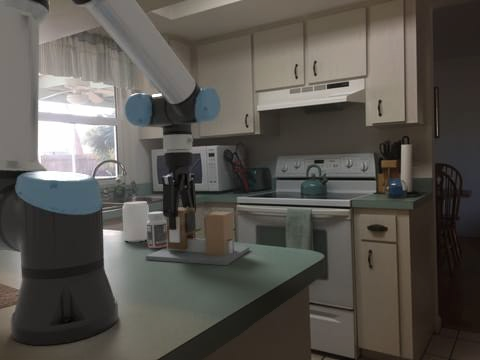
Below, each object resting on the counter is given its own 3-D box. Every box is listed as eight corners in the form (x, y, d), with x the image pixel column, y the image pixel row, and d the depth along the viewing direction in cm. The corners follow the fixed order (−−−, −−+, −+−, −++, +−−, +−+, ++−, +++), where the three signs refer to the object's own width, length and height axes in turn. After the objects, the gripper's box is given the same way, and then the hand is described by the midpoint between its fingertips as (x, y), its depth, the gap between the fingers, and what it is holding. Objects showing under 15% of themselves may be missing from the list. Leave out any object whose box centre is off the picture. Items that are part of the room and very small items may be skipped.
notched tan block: (186, 249, 106) (185, 210, 106) (167, 248, 108) (166, 210, 108) (197, 244, 112) (196, 207, 111) (179, 243, 114) (177, 207, 113)
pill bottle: (169, 244, 123) (168, 211, 123) (164, 248, 118) (163, 213, 117) (151, 244, 124) (149, 211, 124) (144, 248, 118) (143, 214, 118)
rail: (226, 265, 97) (224, 218, 96) (145, 259, 105) (143, 216, 104) (249, 250, 112) (248, 209, 111) (177, 246, 120) (176, 208, 119)
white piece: (121, 239, 134) (120, 202, 133) (147, 236, 137) (145, 200, 137) (126, 243, 126) (124, 204, 126) (152, 240, 130) (151, 202, 129)
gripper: (172, 151, 98) (175, 247, 100) (207, 151, 116) (210, 233, 117) (145, 152, 101) (149, 246, 102) (183, 152, 119) (186, 232, 120)
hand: (181, 239), depth 110 cm, fingers open, 6 cm apart
